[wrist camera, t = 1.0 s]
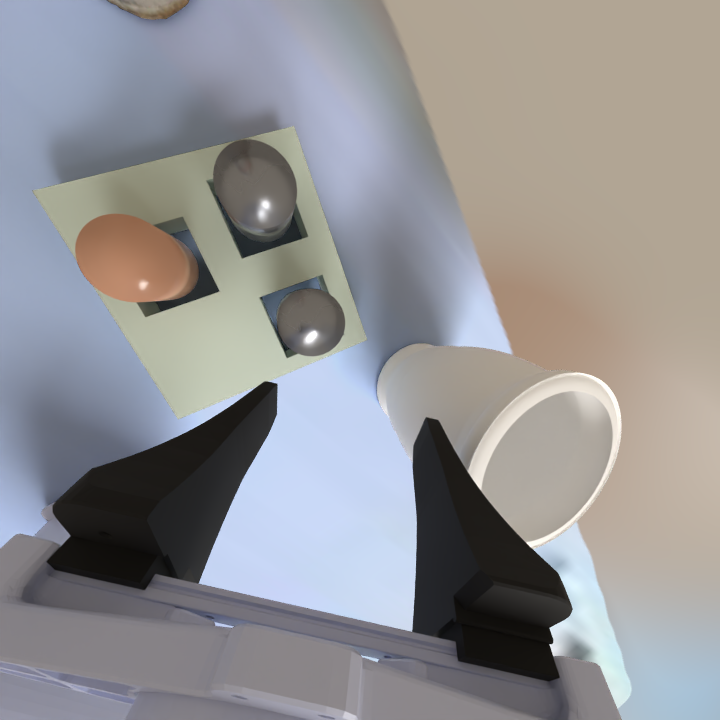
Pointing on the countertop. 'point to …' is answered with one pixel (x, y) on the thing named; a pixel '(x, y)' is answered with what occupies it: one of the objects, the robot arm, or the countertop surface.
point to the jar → (510, 429)
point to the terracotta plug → (135, 260)
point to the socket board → (227, 266)
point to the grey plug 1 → (256, 189)
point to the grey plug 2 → (310, 321)
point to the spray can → (151, 7)
